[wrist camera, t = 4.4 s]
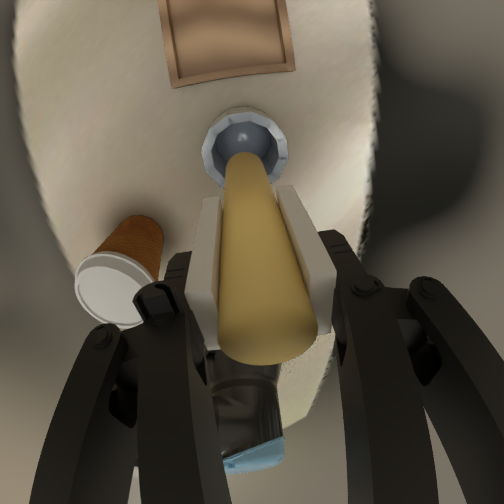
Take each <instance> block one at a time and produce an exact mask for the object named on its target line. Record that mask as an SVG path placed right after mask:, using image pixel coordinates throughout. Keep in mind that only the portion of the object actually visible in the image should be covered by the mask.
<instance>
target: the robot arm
mask: <svg viewBox="0 0 504 504" xmlns="http://www.w3.org/2000/svg"><path fill="white" fill-rule="evenodd" d="M276 190H277V200H278V206H279V209H280V212H281V215H282V218H283V221H284V223H285V226H286V229H287V232H288V235H289V238H290V241H291V244H292V247H293V250H294V252H295V255H296V258H297V261H298V264H299V267H300V271H301V274H302V277H303V280H304V283H305V286H306V289H307V292H308V295H309V298H310V301H311V304H312V307H313V311H314V314H315V317H316V320H317V324H318V335H323V334H328V333H331V326H332V325H333V328H334V331H335V334H336V335H335V341H334V348H333V355H332V357H333V356H336V359H337V366H338V373H339V382H340V390H341V399H342V409H343V419H344V431H345V444H346V458H347V459H346V460H347V481H348V504H439V500H438V489H437V479H436V471H435V464H434V458H433V451H432V445H431V441H430V435H429V429H428V425H427V420H426V415H425V411H424V408H425V410H426V412H427V414H428V416H429V418H430V420H431V422H432V424H433V426H434V428H435V430H436V432H437V434H438V436H439V438H440V440H441V443H442V445H443V447H444V449H445V451H446V453H447V455H448V458H449V460H450V462H451V465H452V467H453V469H454V472H455V474H456V477H457V479H458V481H459V484H460V486H461V489H462V491H463V494H464V496H465V499H466V502H467V504H504V361H503V359H502V358H501V357H500V355H499V354H498V353H497V351H496V349H495V348H494V347H493V345H492V344H491V343H490V341H489V340H488V338H487V337H486V336H485V334H484V333H483V332H482V330H481V329H480V328H479V327H478V325H477V324H476V323H475V321H474V320H473V319H472V318H471V317H470V315H469V314H468V313H467V312H466V310H465V309H464V308H463V307H462V305H461V304H460V303H459V302H458V301H457V300H456V298H455V297H454V296H453V295H452V294H451V293H450V292H449V290H448V289H447V288H446V287H445V286H444V285H443V284H442V283H441V282H439V281H438V280H436V279H434V278H432V277H426V276H423V277H417V278H415V279H414V280H412V282H411V283H410V285H409V289H403V288H389V287H385V286H384V285H383V283H382V282H381V281H380V280H379V279H377V278H376V277H374V276H372V275H369V274H367V273H366V271H365V270H364V268H363V266H362V264H361V263H360V261H359V260H358V258H357V256H356V255H355V253H354V251H352V248H351V247H350V245H349V244H348V242H347V240H346V239H345V237H344V235H342V234H341V233H339V232H337V231H336V230H326V231H319V232H317V231H316V229H315V227H314V225H313V223H312V221H311V219H310V217H309V215H308V214H307V212H306V210H305V208H304V206H303V204H302V202H301V201H300V199H299V197H298V195H297V193H296V192H295V190H294V188H293V186H292V185H290V186H282V187H276ZM222 219H223V212H222V207H221V202H220V197H219V196H214V197H208V198H204V199H203V203H202V208H201V212H200V216H199V221H198V226H197V230H196V235H195V240H194V245H193V250H192V251H189V252H182V253H176V254H175V255H174V256H173V257H172V259H171V260H170V261H169V263H168V266H167V270H166V273H165V277H164V280H163V281H155V282H152V283H150V284H147V285H145V286H144V287H142V288H141V289H140V290H139V291H138V292H137V293H136V294H135V295H134V298H133V300H132V302H133V304H134V305H135V307H136V309H137V311H138V313H139V315H140V316H141V318H142V320H143V323H142V324H139V325H137V326H135V327H132V328H129V329H126V330H123V331H121V330H120V329H119V327H117V326H116V325H115V324H112V323H104V324H101V325H99V326H97V327H95V328H94V329H93V330H92V331H91V332H90V333H89V335H88V336H87V338H86V340H85V342H84V344H83V346H82V348H81V350H80V352H79V354H78V356H77V359H76V361H75V363H74V365H73V368H72V370H71V372H70V375H69V377H68V379H67V382H66V384H65V386H64V389H63V391H62V394H61V397H60V399H59V402H58V404H57V407H56V409H55V412H54V415H53V418H52V420H51V423H50V426H49V429H48V432H47V435H46V438H45V442H44V445H43V448H42V452H41V455H40V459H39V462H38V466H37V470H36V474H35V478H34V483H33V487H32V491H31V496H30V502H29V504H232V502H231V498H230V493H229V489H228V484H227V479H226V474H237V473H246V472H252V471H257V470H262V469H266V468H269V467H272V466H275V465H277V464H279V463H280V462H281V461H282V460H283V458H284V439H285V438H284V436H283V430H282V422H281V415H280V408H279V400H278V394H277V383H278V379H279V374H280V370H281V365H282V363H278V364H273V365H250V364H245V363H241V362H238V361H236V360H234V359H232V358H230V357H228V356H227V355H226V354H225V353H224V352H223V351H222V350H221V349H220V347H219V344H218V340H217V331H218V303H219V277H220V255H221V236H222ZM318 335H317V336H318ZM204 343H205V345H204ZM423 406H424V407H423Z"/></svg>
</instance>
